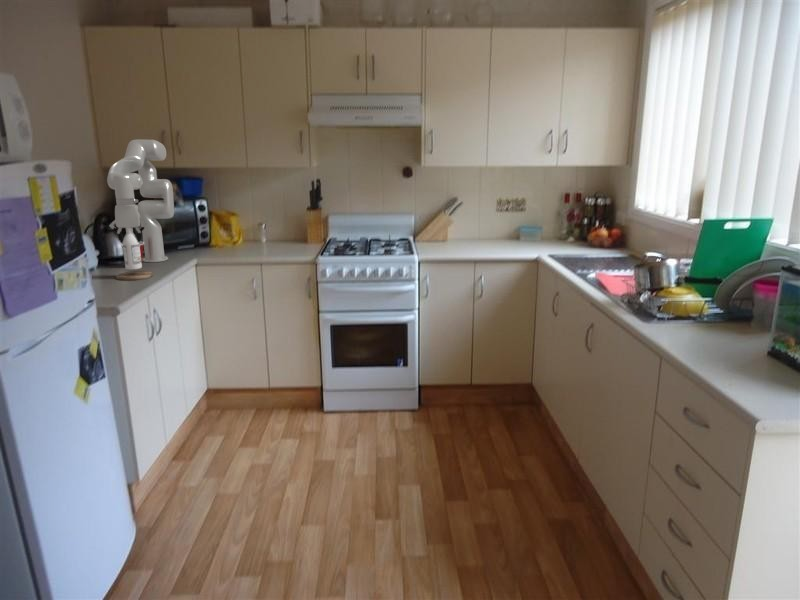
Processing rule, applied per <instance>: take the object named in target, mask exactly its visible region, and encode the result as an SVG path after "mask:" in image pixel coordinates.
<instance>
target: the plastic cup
mask: <svg viewBox="0 0 800 600" xmlns="http://www.w3.org/2000/svg"><path fill="white" fill-rule="evenodd" d="M139 245H140V253H141V262H142V263H143V261H142V259H143V258H144V257H143V256H144V242H143V240H140V242H139ZM120 247H122V248H123V243H121V244H120Z"/></svg>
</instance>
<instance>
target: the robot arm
mask: <svg viewBox="0 0 800 600" xmlns="http://www.w3.org/2000/svg"><path fill="white" fill-rule="evenodd" d="M166 157H167V149H166V146H165V145H164V144H163V143H161V142H160V141H158V140H155V139H141V138H140V139H133V140H130V141H129V142H128V144H127V147H126V150H125V154H124V157H123V158H121V159H119V160H118V161H116V162H115V163H113V164H111V166H110V168H109V170H108V174H107V180H106V182H107V185H108V187H109V188H110V189H111V190H114V194H115V201H116V205H115V207H114V218H115V219H114V220H113V221H112V222H110V224H109V225H108V226H109V227H110V229H112V230H113V231H114V232H115V233H116V234H117V236H118V241H119V242H120V243H121V244H123V239H124V237H123V233H122V230H123V229H126V228H133V229H135V230H136V231H137V233H136V237H137V238H138V242H140V241H142V242H144V245H143V252H144V257H143V259H142V262H144V263H159V262H164V261H167V260H169V257H168V256H167V255H165V249H164V239H163V232H162V230H163V229H162V226H161V224H160V222H159V221H158V220H159V219H160V220H161V219H162V220H163V219H164V220H165V219H166V220H167V219H172V218H173V217H174V215H175V204H174V203H175V202H174V199H175V198H174V188H173V184H172V182H171V181H170V180H169V179H166V178H162V179H161V178H158V174H157V169H156V167H155V166H154V164H152V162H153V161H155V162H158V161H159V162H161V161H164V160H165V159H167V158H166ZM151 161H152V162H151ZM137 171H138V173H135V172H137ZM135 190H139V193H140V195H141V196H142V197H143V198H148V199H147V200H146V199H145V200H142V201H140V202H139V199H136V198H135V192H134V191H135ZM149 198H151V200H149ZM152 198H153V200H152ZM154 198H156V199H154ZM157 198H162V199H161V200H160V199H159V200H158V199H157ZM137 203H138V204H137ZM140 226H141V227H140Z"/></svg>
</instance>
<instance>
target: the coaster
mask: <svg viewBox="0 0 800 600" xmlns="http://www.w3.org/2000/svg"><path fill="white" fill-rule="evenodd" d="M152 277H153V272H152V271H148V270H130V271H125V272H121V273H118V274H117V275H116V279H117V280H119V281H124V282H125V281H126V282H127V281H128V282H130V281H141V280H148V279H150V278H152Z"/></svg>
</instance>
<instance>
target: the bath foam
mask: <svg viewBox="0 0 800 600" xmlns="http://www.w3.org/2000/svg"><path fill="white" fill-rule="evenodd" d="M122 244H123V247H122V250H123V251H122V252H123V259H124V266H125V270H128V271H137V270H140V269H142V268H143V261H142V262H141V253H140V245H139V242H138V238H137V235H136V234H135V233H134V228H125V234H124V237H123V242H122Z"/></svg>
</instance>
